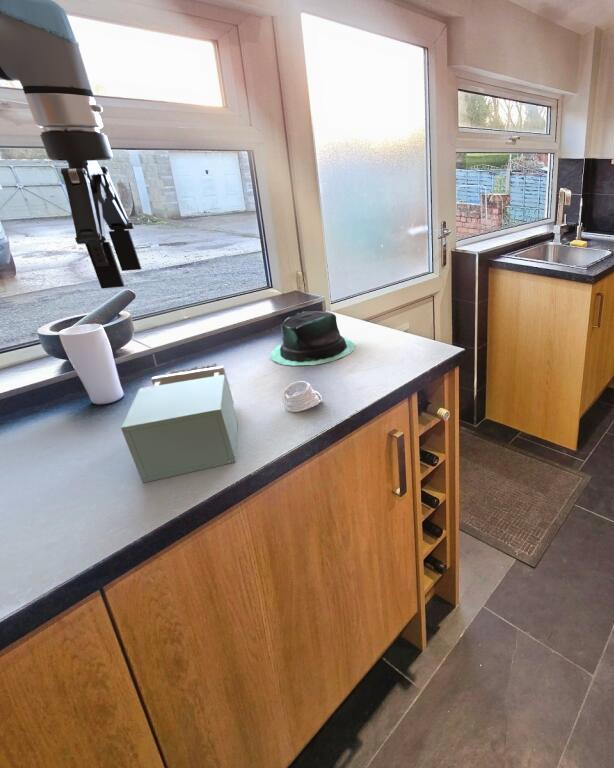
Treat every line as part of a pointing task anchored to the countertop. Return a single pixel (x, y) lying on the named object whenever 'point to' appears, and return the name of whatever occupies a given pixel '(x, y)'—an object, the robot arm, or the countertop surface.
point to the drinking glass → (93, 361)
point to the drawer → (191, 376)
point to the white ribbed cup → (300, 397)
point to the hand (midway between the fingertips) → (123, 278)
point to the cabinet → (181, 428)
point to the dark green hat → (311, 340)
